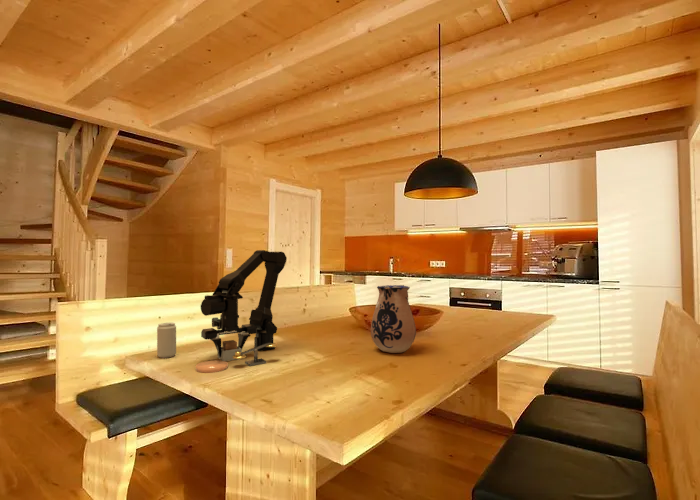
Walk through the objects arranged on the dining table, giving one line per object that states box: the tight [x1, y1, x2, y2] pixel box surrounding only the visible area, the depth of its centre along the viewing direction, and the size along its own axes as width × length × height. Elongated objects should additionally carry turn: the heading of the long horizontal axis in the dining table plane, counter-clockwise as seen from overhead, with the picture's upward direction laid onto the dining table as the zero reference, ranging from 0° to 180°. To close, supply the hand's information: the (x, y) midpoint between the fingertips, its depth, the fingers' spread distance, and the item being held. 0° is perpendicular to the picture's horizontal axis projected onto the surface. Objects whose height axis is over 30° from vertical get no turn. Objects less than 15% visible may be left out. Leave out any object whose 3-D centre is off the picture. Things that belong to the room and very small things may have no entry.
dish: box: [195, 359, 229, 374], centre depth 133 cm, size 10×10×1 cm
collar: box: [217, 345, 243, 362], centre depth 146 cm, size 7×7×4 cm
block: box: [221, 339, 238, 351], centre depth 146 cm, size 4×4×6 cm
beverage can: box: [156, 322, 177, 359], centre depth 148 cm, size 6×6×12 cm
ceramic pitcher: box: [370, 284, 417, 354], centre depth 158 cm, size 18×21×25 cm
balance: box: [233, 342, 279, 367], centre depth 139 cm, size 16×4×6 cm, turn 125°
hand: (229, 355), depth 146 cm, fingers closed on collar, 7 cm apart
